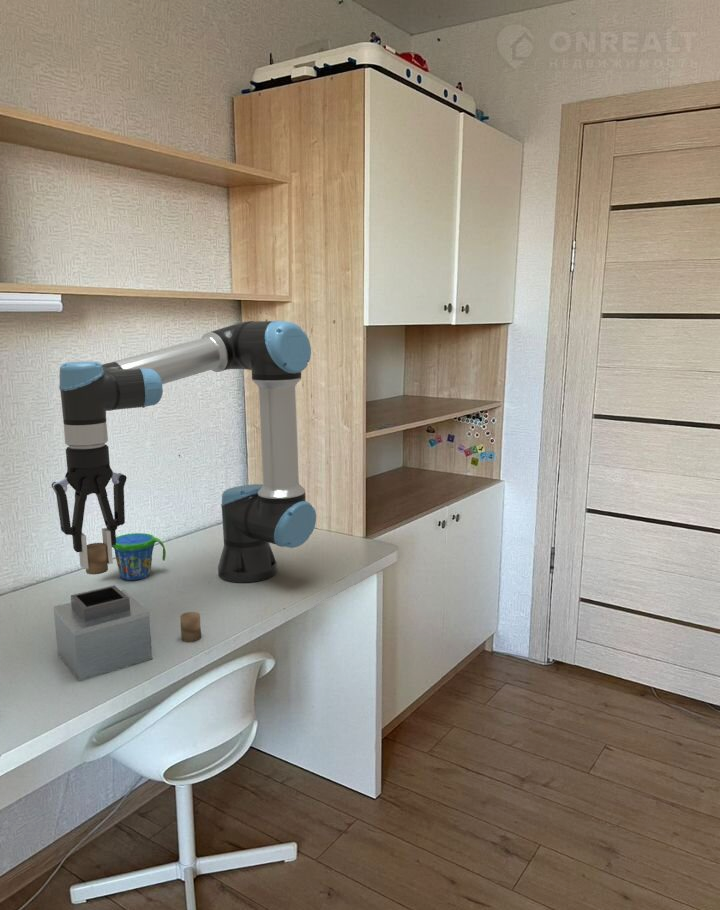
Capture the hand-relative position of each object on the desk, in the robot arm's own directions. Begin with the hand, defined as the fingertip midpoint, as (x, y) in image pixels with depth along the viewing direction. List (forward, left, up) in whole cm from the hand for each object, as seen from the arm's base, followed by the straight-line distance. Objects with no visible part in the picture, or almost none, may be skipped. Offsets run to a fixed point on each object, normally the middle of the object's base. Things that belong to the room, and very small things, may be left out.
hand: (96, 564), depth 138 cm
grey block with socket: (0, 0, -19) cm, 19 cm away
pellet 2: (-17, +3, -19) cm, 26 cm away
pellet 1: (0, 0, -1) cm, 1 cm away
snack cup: (-21, -40, -19) cm, 49 cm away
